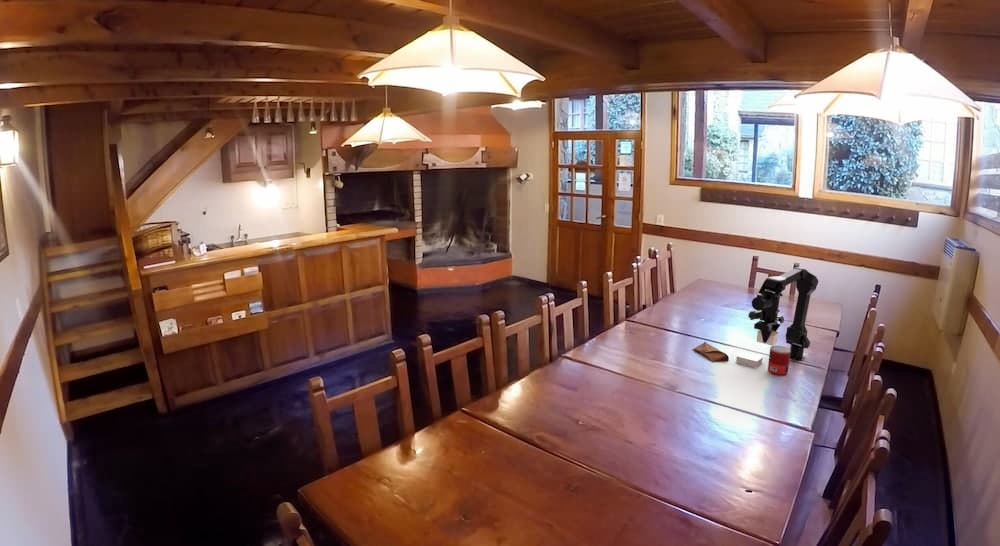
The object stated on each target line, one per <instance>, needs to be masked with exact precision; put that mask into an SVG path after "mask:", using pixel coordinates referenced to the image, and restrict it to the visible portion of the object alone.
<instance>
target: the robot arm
mask: <svg viewBox="0 0 1000 546" xmlns="http://www.w3.org/2000/svg"><path fill="white" fill-rule="evenodd" d="M794 282H796V283H795V287H796V290H797V293H798V294H797V299H796V303H795V304H796V305H795V309H794V310H795V311H794V314H793V321H792V324H791V325H790V326H787V327H786V332H785V342H786V344H788V345H790V347H789V349H790V350H791V353H790V359H792V360H795V361H800V362H801V361H803V360H804V359H806V355H804V352H805V349H809V348H810V346H811V345H810V344H811V341H810V340H809V338H808V330H807V326H806V321H807V316H808V310H809V305H810V299H811V295H812V294H813V293H814V292H815V290H816V289H817V286H818V284H819V279H818V277H817V276H816V275H814V274H813V273H811V272H809V271H808V270H807V269H806V268H804V267H798V266H796V267H793V268H792V269H791V270H788V271H787V272H785V273H783V274H781V275H779V276H775V275H774V276H768V277H767V278H765V280H764V281H763V282H762V285H761V287H760V289H759V290H758V294H756V297H754V298H753V299H751V307H752V308H753V309H754V310H751V311H749V313H748V316H747V318H749V319H750V321H753V320H758V321H757V322H755V323H754V325H753V329H754V330H757V331H758V330H760V331H761V333H762V338H763V342H764V343H766V342H767V340H768V338H769V337H770V335H771V333H772V331H776V332H778V330H779V328H780V326H781V325H782V324H783V323H785V317H784V316H783V315H779V313H780V311H781V310H780V309H779V306H780V301H781V300H780V298H781V297H783V293H782V292H784V291H785V290H786V286H789V285H790V284H792V283H794ZM778 322H779V323H778ZM764 343H763V344H764Z"/></svg>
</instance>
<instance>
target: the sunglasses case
mask: <svg viewBox="0 0 1000 546" xmlns="http://www.w3.org/2000/svg"><path fill="white" fill-rule="evenodd" d="M691 350H692V351H693V352H696V353H697V354H699V355H700V354H701V355H700V356H702V357H703V358H705V359H707V360H709V361H710V362H712V363H724V362H729V355H728V354H727V353H726V352H723V351H721V350H720V349H718V348H716V347H715V346H712V345H710V344H709V343H707V342H706V341H704V342H703V343H701V344H699V345H698V346H696V347H693V348H691Z"/></svg>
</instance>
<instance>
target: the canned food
mask: <svg viewBox="0 0 1000 546" xmlns="http://www.w3.org/2000/svg"><path fill="white" fill-rule="evenodd" d="M790 353H791V350H790V347H789V348H788V347H786V346H782V345H773V346H772V345H770V350H769V357H768V364H767V371H768V373H770V374H771V375H774V376H778V377H779V376H780V377H781V376H787V375H788V372H789V367H790V366H789V365H790V359H791V358H790Z"/></svg>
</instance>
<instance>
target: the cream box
mask: <svg viewBox="0 0 1000 546" xmlns="http://www.w3.org/2000/svg"><path fill="white" fill-rule="evenodd" d="M779 333H780V332H779V331H772V333H771V335H770V337H769V338H768V340H767V342H766V343H764V342H763V338H762V333H761V331H760V330H758V329H757V335H756V342H757V343H760V344H764V345H767V346H776V344H778V341H779V340H778V339H779Z"/></svg>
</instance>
